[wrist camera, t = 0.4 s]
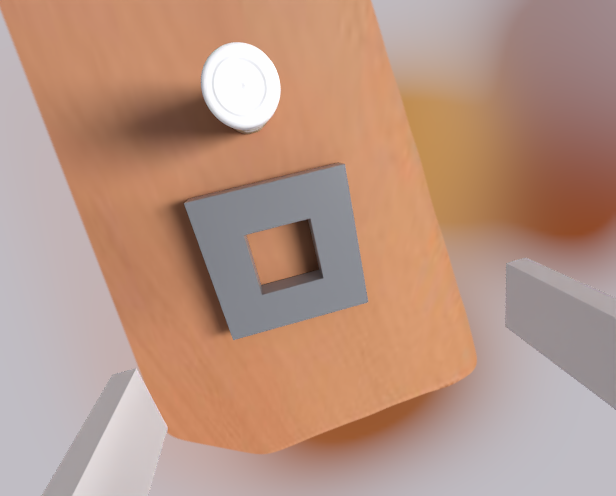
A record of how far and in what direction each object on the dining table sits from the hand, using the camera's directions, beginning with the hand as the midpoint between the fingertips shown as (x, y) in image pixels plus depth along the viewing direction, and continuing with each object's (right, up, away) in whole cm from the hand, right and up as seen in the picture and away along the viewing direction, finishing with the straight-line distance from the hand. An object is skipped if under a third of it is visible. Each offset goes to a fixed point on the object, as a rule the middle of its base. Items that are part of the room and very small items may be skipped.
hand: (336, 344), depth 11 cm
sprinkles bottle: (-7, +17, +20) cm, 27 cm away
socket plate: (-4, +3, +25) cm, 25 cm away
